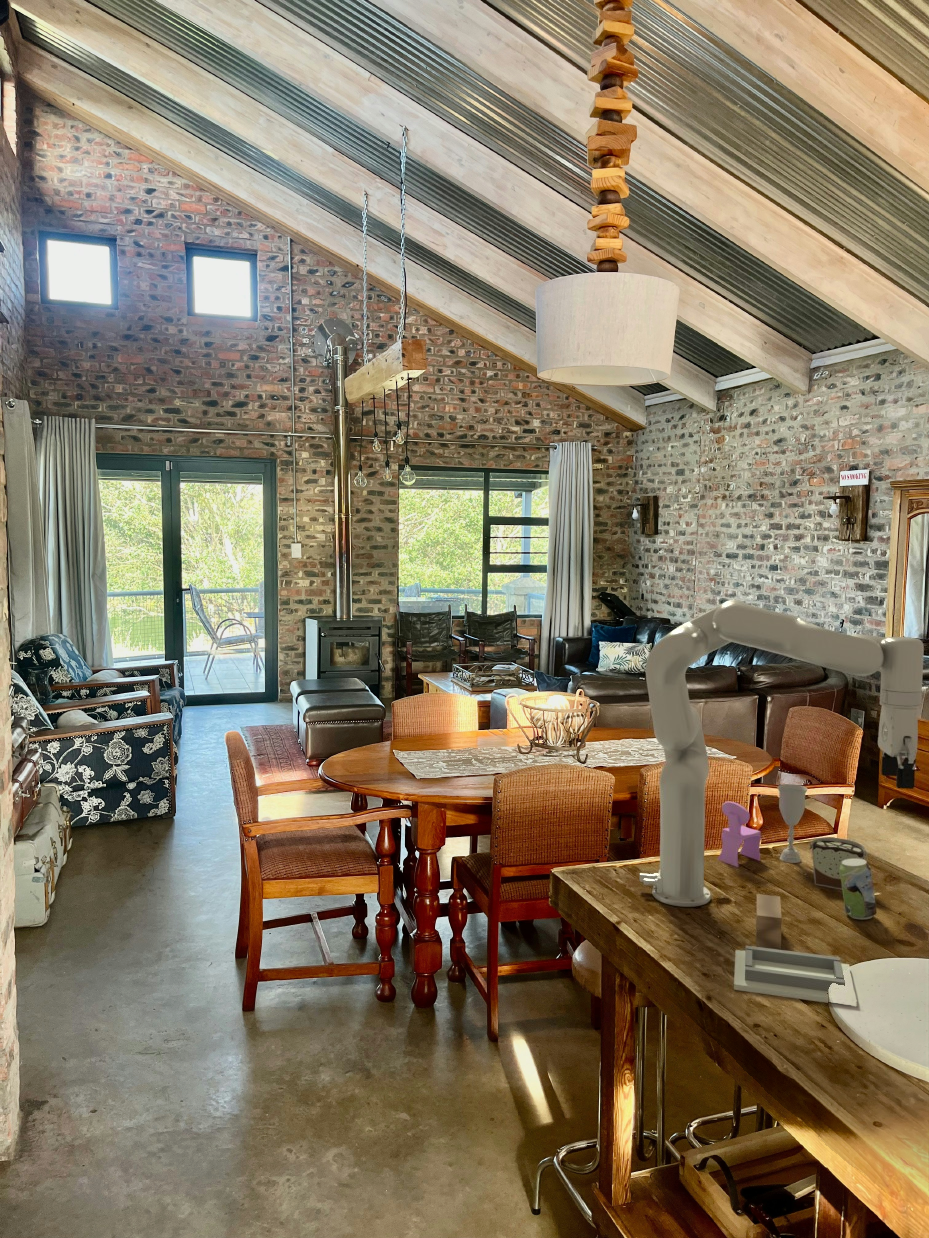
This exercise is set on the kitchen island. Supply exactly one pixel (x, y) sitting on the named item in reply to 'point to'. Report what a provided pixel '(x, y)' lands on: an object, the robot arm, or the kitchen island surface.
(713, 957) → the kitchen island surface
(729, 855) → the toy chair
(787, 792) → the chalice
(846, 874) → the beverage can
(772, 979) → the pocket board
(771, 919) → the key block
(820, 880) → the food container
